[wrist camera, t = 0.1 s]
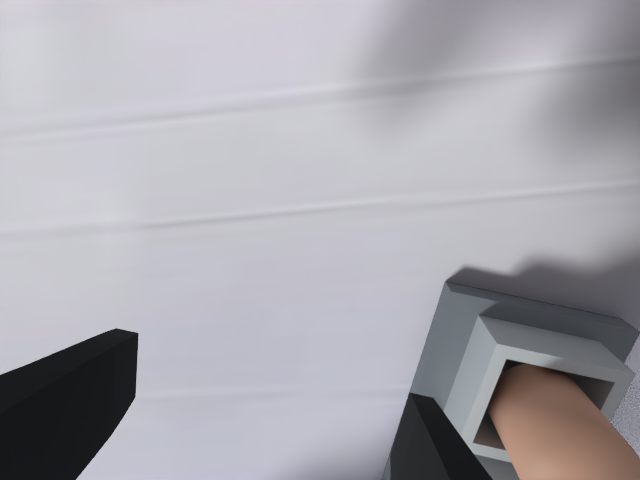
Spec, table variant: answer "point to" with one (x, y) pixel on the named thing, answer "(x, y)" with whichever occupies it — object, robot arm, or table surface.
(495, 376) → the button panel
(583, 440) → the terracotta button
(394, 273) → the table surface
